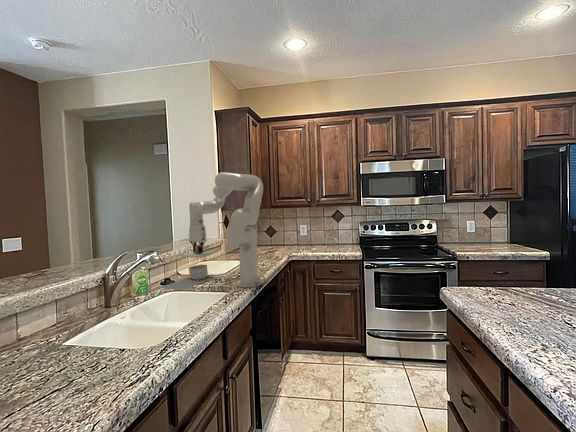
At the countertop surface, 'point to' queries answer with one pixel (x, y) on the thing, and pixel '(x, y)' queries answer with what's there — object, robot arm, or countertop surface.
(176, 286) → the mat
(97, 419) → the countertop surface
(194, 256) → the lid
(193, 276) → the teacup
